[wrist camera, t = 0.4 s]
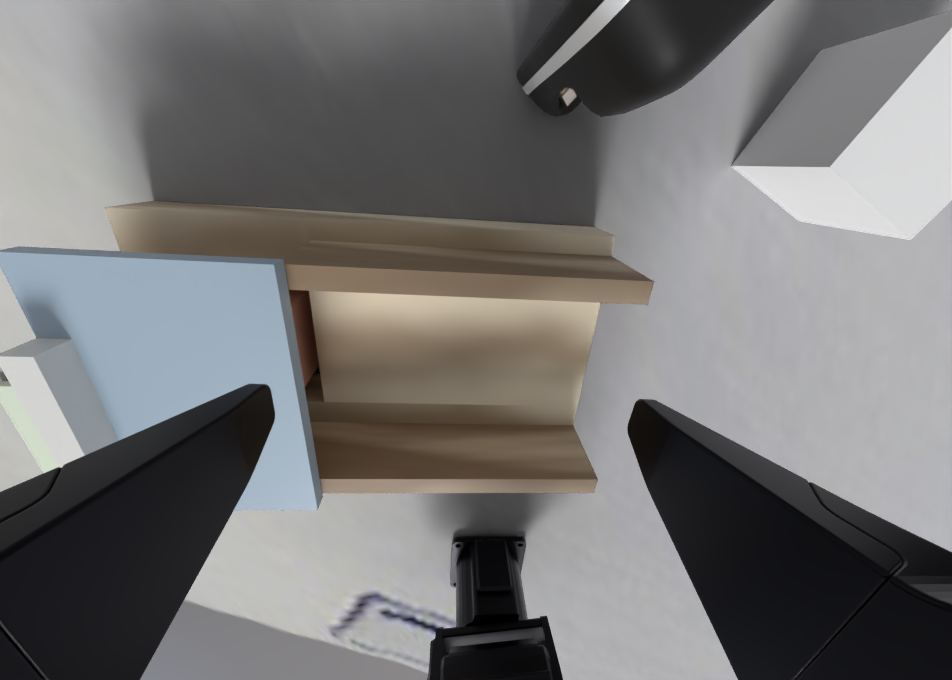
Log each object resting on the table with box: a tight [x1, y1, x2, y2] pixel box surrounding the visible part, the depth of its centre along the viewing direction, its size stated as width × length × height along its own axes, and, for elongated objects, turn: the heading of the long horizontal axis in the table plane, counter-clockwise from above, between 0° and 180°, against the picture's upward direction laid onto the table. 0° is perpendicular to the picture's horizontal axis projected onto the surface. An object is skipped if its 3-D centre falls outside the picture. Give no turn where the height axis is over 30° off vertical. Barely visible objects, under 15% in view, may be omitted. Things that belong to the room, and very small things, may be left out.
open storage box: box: [105, 201, 654, 493], centre depth 20 cm, size 14×24×8 cm, turn 86°
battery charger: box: [517, 0, 774, 117], centre depth 12 cm, size 7×4×11 cm, turn 135°
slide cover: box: [0, 247, 323, 510], centre depth 15 cm, size 12×9×2 cm
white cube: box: [731, 10, 952, 240], centre depth 17 cm, size 6×6×6 cm
